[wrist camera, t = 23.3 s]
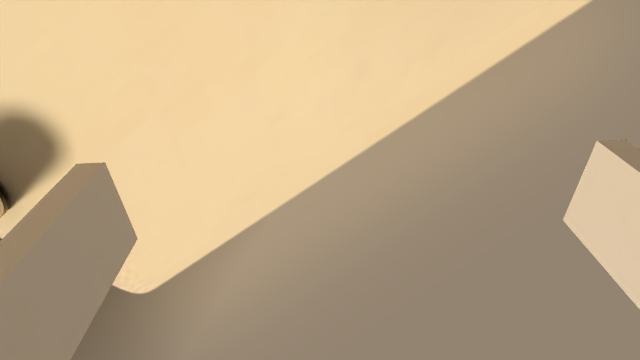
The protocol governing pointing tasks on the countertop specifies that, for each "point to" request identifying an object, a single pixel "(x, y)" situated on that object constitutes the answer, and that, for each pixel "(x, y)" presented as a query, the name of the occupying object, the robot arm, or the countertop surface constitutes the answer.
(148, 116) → the countertop surface
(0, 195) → the supplement container
